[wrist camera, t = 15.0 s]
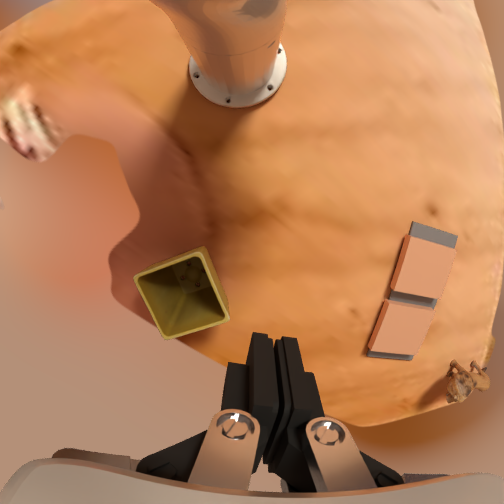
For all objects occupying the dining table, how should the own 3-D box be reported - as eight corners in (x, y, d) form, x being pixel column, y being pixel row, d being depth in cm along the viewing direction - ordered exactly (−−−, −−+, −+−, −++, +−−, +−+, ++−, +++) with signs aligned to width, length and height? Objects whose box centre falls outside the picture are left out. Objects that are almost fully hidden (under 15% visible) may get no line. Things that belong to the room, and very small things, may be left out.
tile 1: (389, 303, 42) (435, 311, 42) (385, 298, 43) (430, 306, 44) (370, 350, 44) (416, 355, 44) (367, 345, 45) (412, 350, 46)
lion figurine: (429, 383, 48) (449, 412, 40) (438, 360, 47) (462, 387, 38) (480, 376, 49) (501, 399, 40) (489, 354, 47) (513, 377, 39)
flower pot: (235, 292, 44) (231, 321, 35) (179, 310, 44) (163, 341, 36) (211, 233, 42) (200, 250, 33) (154, 255, 42) (131, 276, 34)
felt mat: (412, 221, 41) (413, 221, 41) (456, 235, 41) (457, 236, 41) (366, 354, 46) (367, 356, 46) (410, 358, 47) (411, 360, 46)
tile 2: (410, 236, 39) (456, 250, 40) (405, 233, 41) (450, 247, 41) (393, 290, 41) (440, 299, 42) (389, 286, 43) (435, 295, 43)
